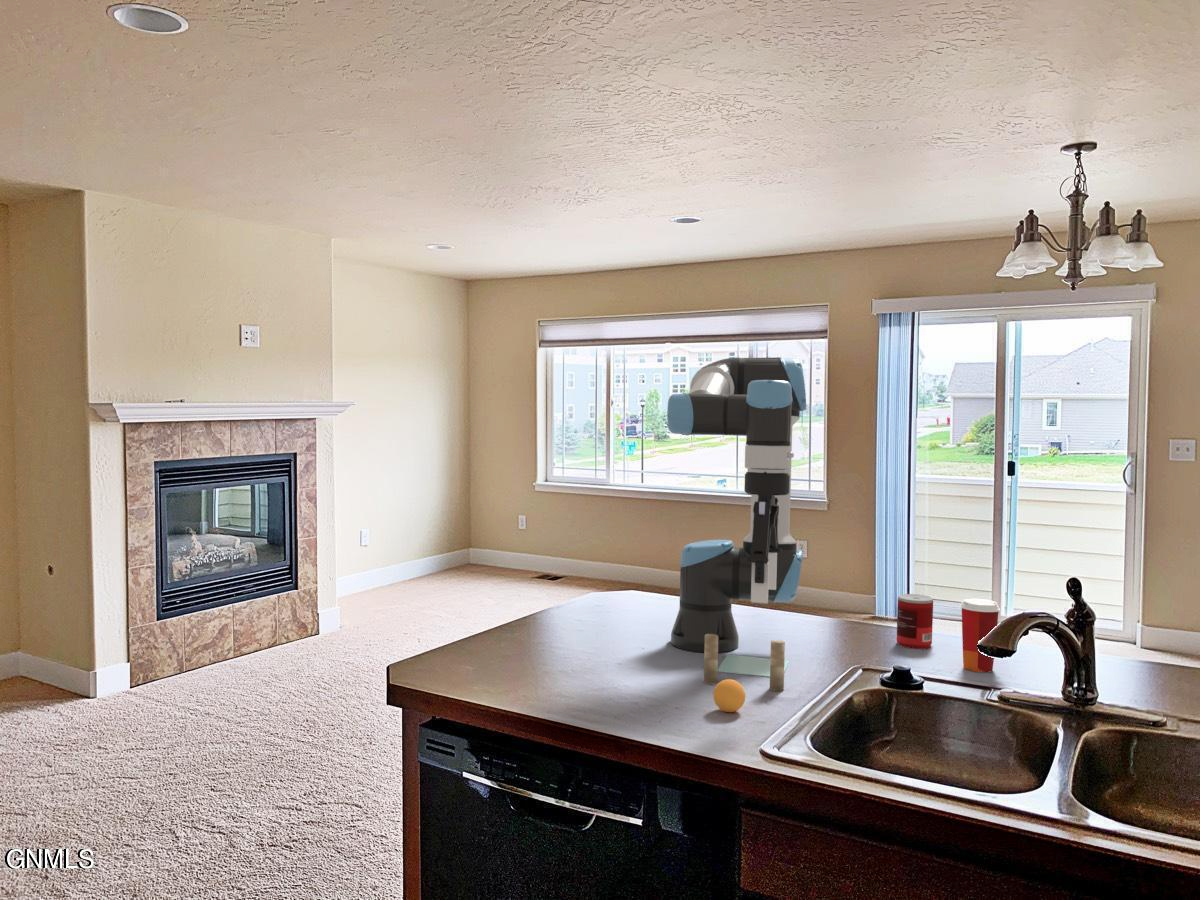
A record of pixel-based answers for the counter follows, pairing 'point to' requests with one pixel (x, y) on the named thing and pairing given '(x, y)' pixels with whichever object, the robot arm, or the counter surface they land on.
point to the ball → (729, 695)
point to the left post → (711, 658)
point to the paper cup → (977, 632)
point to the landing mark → (747, 665)
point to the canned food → (914, 621)
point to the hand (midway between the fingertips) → (764, 595)
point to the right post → (777, 665)
